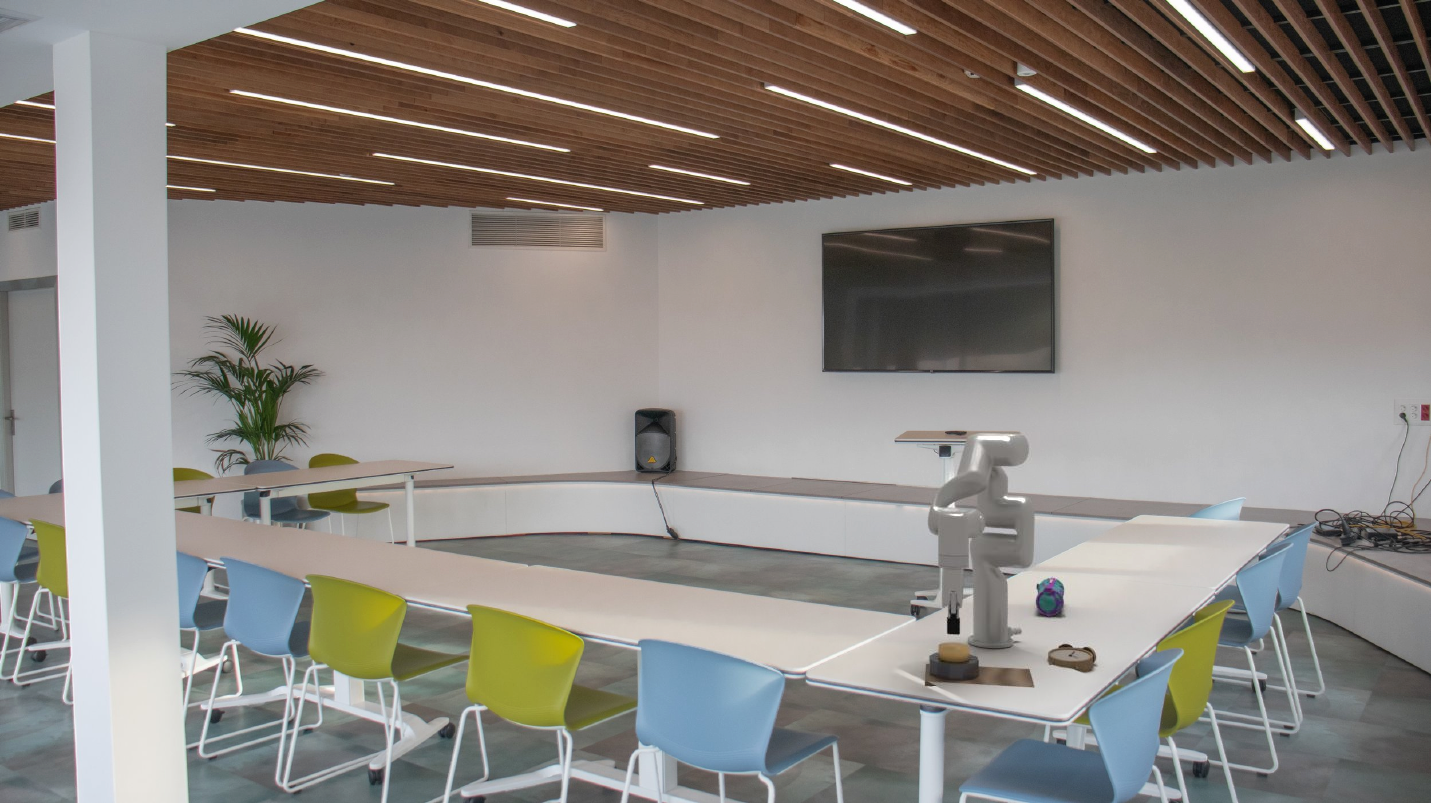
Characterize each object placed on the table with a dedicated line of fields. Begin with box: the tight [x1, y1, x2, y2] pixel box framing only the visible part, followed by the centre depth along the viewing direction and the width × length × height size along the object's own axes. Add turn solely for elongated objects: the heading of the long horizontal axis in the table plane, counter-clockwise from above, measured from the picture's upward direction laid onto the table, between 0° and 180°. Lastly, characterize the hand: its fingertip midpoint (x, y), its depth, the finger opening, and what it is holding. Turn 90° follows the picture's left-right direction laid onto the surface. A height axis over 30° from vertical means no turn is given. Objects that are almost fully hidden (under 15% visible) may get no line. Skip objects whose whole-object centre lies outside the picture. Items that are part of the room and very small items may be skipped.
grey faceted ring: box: [928, 652, 980, 681], centre depth 263 cm, size 12×12×4 cm
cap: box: [937, 641, 970, 662], centre depth 263 cm, size 8×8×7 cm
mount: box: [924, 663, 1035, 688], centre depth 262 cm, size 26×16×1 cm, turn 77°
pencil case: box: [1035, 576, 1065, 617], centre depth 338 cm, size 21×9×10 cm, turn 162°
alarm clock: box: [1047, 643, 1097, 673], centre depth 275 cm, size 11×5×15 cm
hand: (953, 633), depth 263 cm, fingers closed
